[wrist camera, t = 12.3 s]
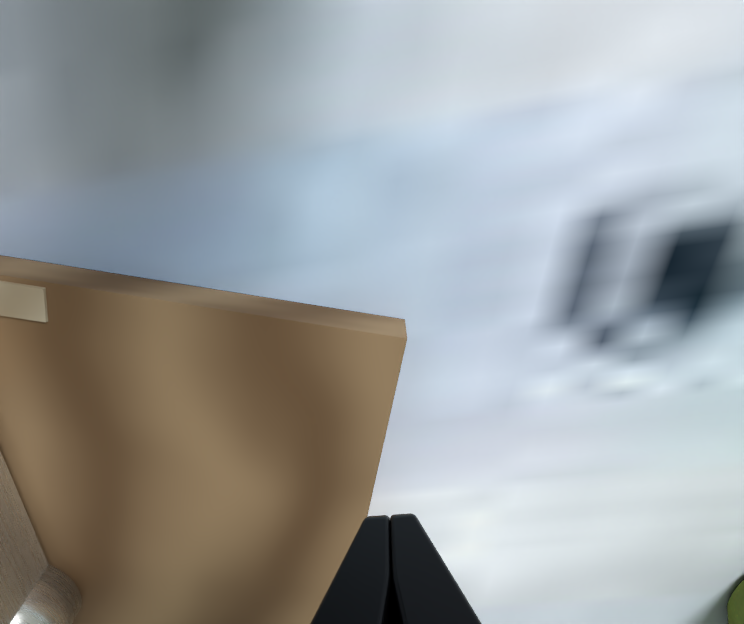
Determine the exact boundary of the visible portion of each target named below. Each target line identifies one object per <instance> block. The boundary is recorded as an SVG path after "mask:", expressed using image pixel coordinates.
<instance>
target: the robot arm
mask: <svg viewBox="0 0 744 624" xmlns="http://www.w3.org/2000/svg"><path fill="white" fill-rule="evenodd" d="M310 624H481V622H480V620H479V619H478V617H477V615H476V614H475V612H474V611H473V609H472V607H471V606H470V604H469V602H468V601H467V599H466V597H465V596H464V594H463V593H462V591H461V589H460V588H459V586H458V584H457V583H456V581H455V579H454V578H453V576H452V574H451V573H450V571H449V570H448V568H447V566H446V565H445V563H444V561H443V560H442V558H441V556H440V555H439V553H438V551H437V550H436V548H435V547H434V545H433V543H432V542H431V540H430V538H429V537H428V535H427V533H426V532H425V530H424V528H423V527H422V525H421V524H420V522H419V520H418V519H417V517H416V516H415V515H414V514H397V515H392V516H391V518H389V517H388V516H386V515H383V516H369V517H366V518H365V519H364V520H363V522H362V524H361V526H360V528H359V530H358V532H357V533H356V535H355V537H354V539H353V541H352V543H351V545H350V547H349V549H348V551H347V553H346V555H345V557H344V559H343V561H342V563H341V565H340V567H339V569H338V571H337V572H336V574H335V576H334V578H333V580H332V582H331V584H330V586H329V588H328V590H327V592H326V594H325V596H324V598H323V600H322V602H321V604H320V606H319V608H318V610H317V611H316V613H315V615H314V617H313V619H312V621H311V623H310Z"/></svg>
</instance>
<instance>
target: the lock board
mask: <svg viewBox="0 0 744 624" xmlns="http://www.w3.org/2000/svg"><path fill="white" fill-rule="evenodd" d="M406 341H407V334H406V326H405V320H404V319H398V318H392V317H385V316H379V315H373V314H366V313H360V312H354V311H348V310H341V309H335V308H329V307H322V306H316V305H310V304H303V303H297V302H291V301H285V300H278V299H272V298H266V297H259V296H253V295H247V294H241V293H234V292H228V291H222V290H215V289H209V288H203V287H196V286H190V285H184V284H178V283H171V282H165V281H159V280H152V279H146V278H140V277H134V276H127V275H121V274H115V273H108V272H102V271H96V270H89V269H83V268H77V267H71V266H64V265H58V264H52V263H45V262H39V261H33V260H26V259H20V258H14V257H8V256H1V255H0V451H1V454H2V456H3V458H4V461H5V463H6V465H7V468H8V470H9V472H10V475H11V477H12V479H13V482H14V484H15V486H16V489H17V491H18V494H19V496H20V498H21V501H22V503H23V505H24V508H25V510H26V512H27V515H28V517H29V519H30V522H31V524H32V526H33V529H34V531H35V533H36V536H37V538H38V541H39V543H40V545H41V548H42V550H43V552H44V555H45V557H46V559H47V562H48V564H49V565H51V566H53V567H55V568H57V569H59V570H61V571H62V572H63V573H65V574H66V575H67V576H68V577H70V578H71V579H72V581H73V582H74V583H75V584H76V586H77V587H78V589H79V591H80V594H81V600H82V601H81V607H80V610H79V612H78V614H77V615H76V617H75V619H74V621H73V623H72V624H310V623H311V621H312V619H313V617H314V615H315V613H316V611H317V610H318V608H319V606H320V604H321V602H322V600H323V598H324V596H325V594H326V592H327V590H328V588H329V586H330V584H331V582H332V580H333V578H334V576H335V574H336V572H337V571H338V569H339V567H340V565H341V563H342V561H343V559H344V557H345V555H346V553H347V551H348V549H349V547H350V545H351V543H352V541H353V539H354V537H355V535H356V533H357V532H358V530H359V528H360V526H361V524H362V522H363V520H364V519H365V518H366V517H367V514H368V510H369V506H370V501H371V497H372V492H373V488H374V483H375V479H376V474H377V470H378V466H379V461H380V457H381V452H382V448H383V443H384V439H385V434H386V430H387V426H388V421H389V417H390V412H391V408H392V403H393V399H394V394H395V390H396V385H397V381H398V377H399V372H400V368H401V363H402V359H403V354H404V350H405V345H406Z"/></svg>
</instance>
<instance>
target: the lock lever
mask: <svg viewBox="0 0 744 624" xmlns="http://www.w3.org/2000/svg"><path fill="white" fill-rule="evenodd" d="M81 601H82V600H81V594H80V591H79V589H78V587H77V586H76V584H75V583H74V582H73V581H72V579H71V578H70V577H68V576H67V575H66V574H65V573H63V572H62V571H61V570H59V569H57V568H55V567H53V566H51V565H49V564H48V562H47V559H46V557H45V555H44V552H43V550H42V548H41V545H40V543H39V541H38V538H37V536H36V533H35V531H34V529H33V526H32V524H31V522H30V519H29V517H28V515H27V512H26V510H25V508H24V505H23V503H22V501H21V498H20V496H19V494H18V491H17V489H16V486H15V484H14V482H13V479H12V477H11V475H10V472H9V470H8V468H7V465H6V463H5V461H4V458H3V456H2V454H1V451H0V624H72V623H73V621H74V619H75V617H76V615H77V614H78V612H79V610H80V607H81Z"/></svg>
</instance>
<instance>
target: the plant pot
mask: <svg viewBox="0 0 744 624" xmlns="http://www.w3.org/2000/svg"><path fill="white" fill-rule="evenodd" d="M727 611H728V624H744V580H743V581H742V582H741V583H740V584H739V585H738V586H737V588H736V589H735V590H734V592H733V593H732V595H731V597H730V599H729V601H728V604H727Z"/></svg>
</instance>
